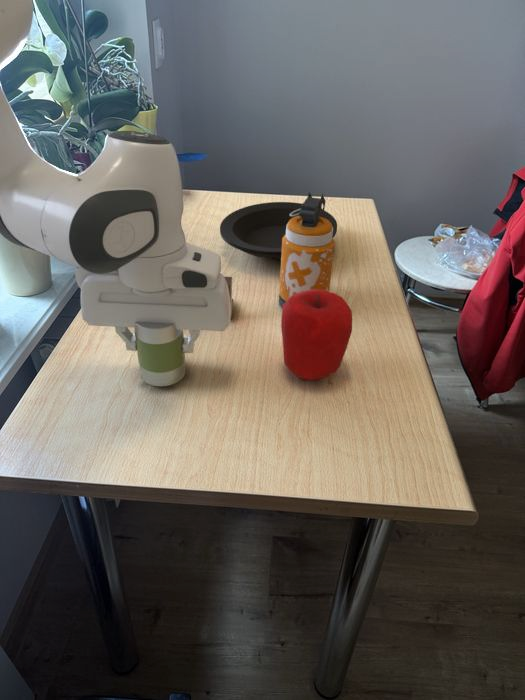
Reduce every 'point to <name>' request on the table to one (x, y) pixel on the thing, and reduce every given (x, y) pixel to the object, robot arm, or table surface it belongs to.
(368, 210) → the table surface
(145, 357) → the can
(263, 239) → the plate
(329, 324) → the apple
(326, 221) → the canister
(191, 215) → the table surface
